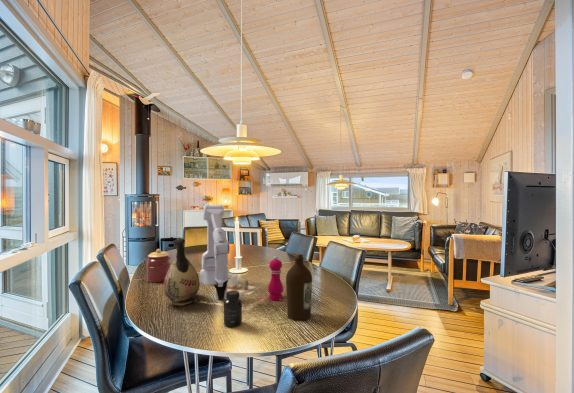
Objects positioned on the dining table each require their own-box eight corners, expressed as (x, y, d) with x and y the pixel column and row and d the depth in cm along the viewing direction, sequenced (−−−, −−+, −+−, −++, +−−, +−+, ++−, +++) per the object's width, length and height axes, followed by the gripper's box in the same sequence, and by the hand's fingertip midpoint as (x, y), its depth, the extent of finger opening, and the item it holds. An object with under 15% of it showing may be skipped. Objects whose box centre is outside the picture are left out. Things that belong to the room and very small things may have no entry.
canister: (159, 283, 162) (159, 251, 161) (140, 281, 166) (140, 250, 166) (175, 277, 174) (175, 247, 174) (157, 275, 178) (157, 246, 178)
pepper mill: (271, 302, 134) (271, 258, 134) (265, 297, 141) (265, 255, 141) (285, 299, 138) (286, 256, 138) (279, 294, 144) (279, 254, 144)
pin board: (213, 292, 147) (213, 280, 147) (227, 285, 159) (227, 274, 158) (249, 297, 140) (249, 285, 140) (260, 290, 151) (260, 278, 151)
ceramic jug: (163, 299, 138) (163, 235, 138) (197, 294, 144) (197, 233, 144) (163, 312, 123) (163, 240, 122) (202, 306, 129) (202, 238, 128)
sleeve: (215, 302, 133) (215, 289, 133) (216, 298, 138) (216, 286, 138) (226, 302, 134) (226, 289, 134) (227, 298, 139) (227, 285, 139)
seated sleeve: (223, 288, 149) (223, 276, 149) (229, 285, 154) (229, 273, 154) (232, 289, 147) (232, 277, 147) (237, 286, 152) (237, 274, 152)
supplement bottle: (224, 320, 115) (224, 289, 115) (242, 319, 116) (242, 289, 116) (222, 328, 108) (222, 295, 108) (241, 327, 109) (241, 295, 109)
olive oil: (281, 318, 117) (281, 255, 117) (293, 309, 126) (293, 250, 126) (305, 324, 112) (305, 258, 112) (316, 314, 121) (316, 253, 121)
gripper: (229, 272, 130) (229, 302, 130) (231, 264, 144) (231, 291, 144) (213, 272, 129) (213, 303, 129) (216, 264, 143) (216, 292, 143)
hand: (221, 297), depth 136 cm, fingers closed on sleeve, 5 cm apart
